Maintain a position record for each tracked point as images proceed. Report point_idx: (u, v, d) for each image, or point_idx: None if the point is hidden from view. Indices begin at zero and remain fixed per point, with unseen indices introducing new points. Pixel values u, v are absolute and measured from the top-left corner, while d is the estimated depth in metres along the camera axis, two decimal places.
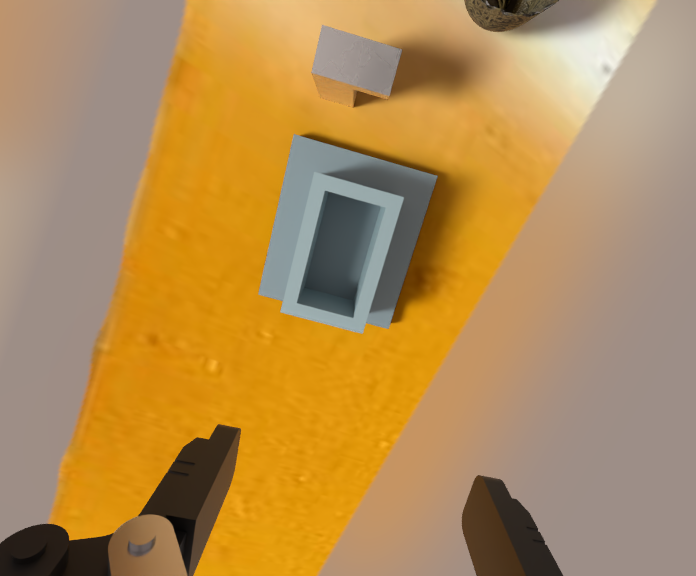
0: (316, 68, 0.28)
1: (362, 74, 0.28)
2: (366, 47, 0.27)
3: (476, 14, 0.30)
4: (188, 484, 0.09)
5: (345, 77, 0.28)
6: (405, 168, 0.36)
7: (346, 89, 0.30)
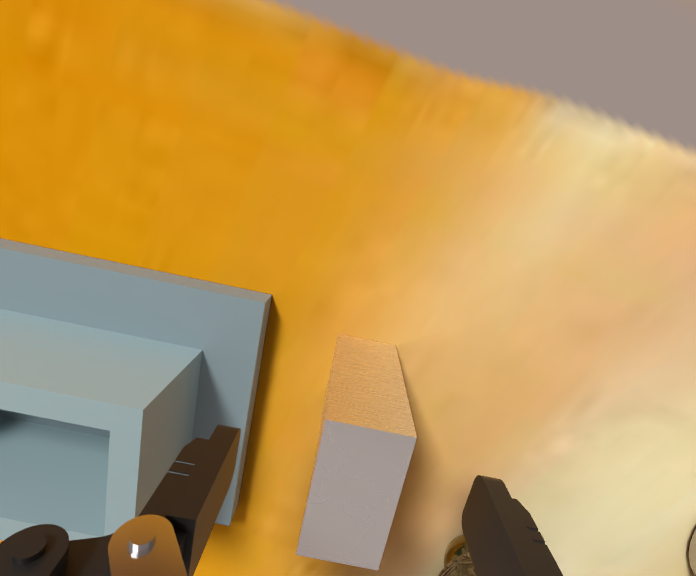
0: (334, 428, 0.13)
1: (330, 509, 0.14)
2: (378, 515, 0.14)
3: None
4: (188, 483, 0.09)
5: (322, 481, 0.14)
6: (233, 481, 0.21)
7: (317, 448, 0.15)
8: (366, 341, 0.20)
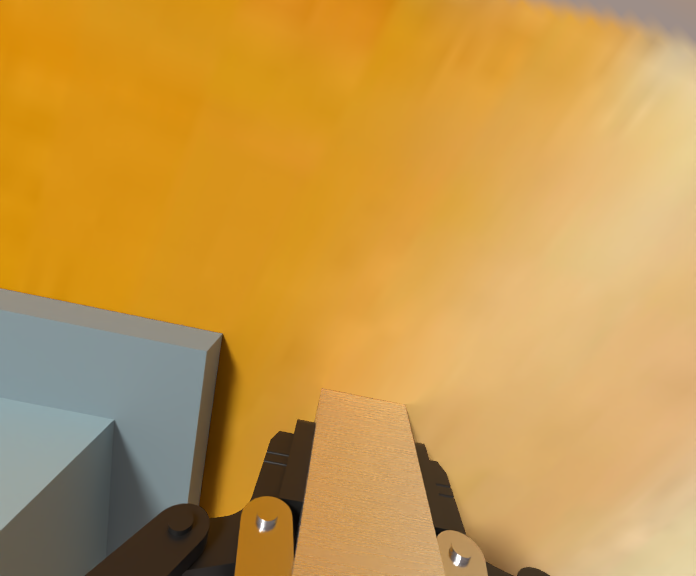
0: None
1: None
2: None
3: None
4: (289, 471, 0.11)
5: None
6: None
7: None
8: (362, 401, 0.14)
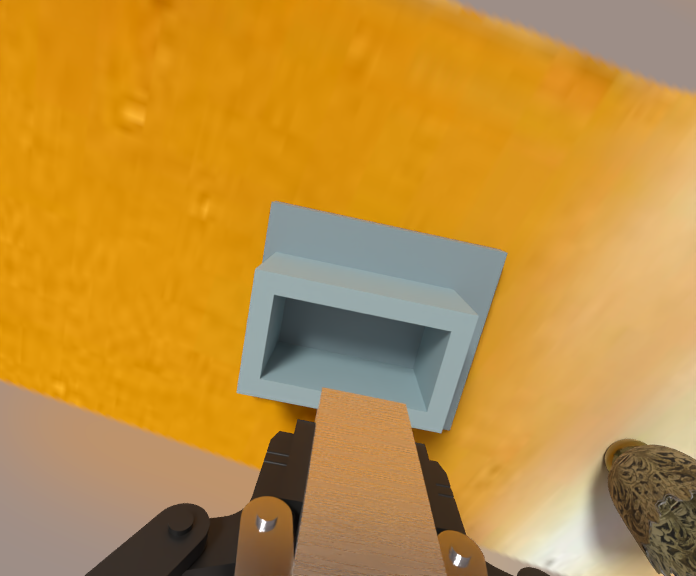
0: None
1: None
2: None
3: (638, 473, 0.26)
4: (289, 471, 0.11)
5: None
6: (459, 394, 0.28)
7: None
8: (363, 400, 0.14)
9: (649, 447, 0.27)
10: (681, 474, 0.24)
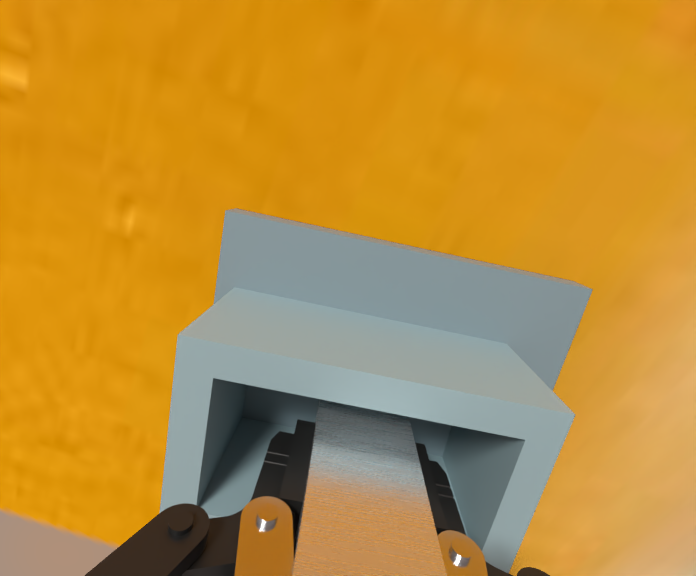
0: None
1: None
2: None
3: None
4: (289, 471, 0.11)
5: None
6: None
7: None
8: None
9: None
10: None
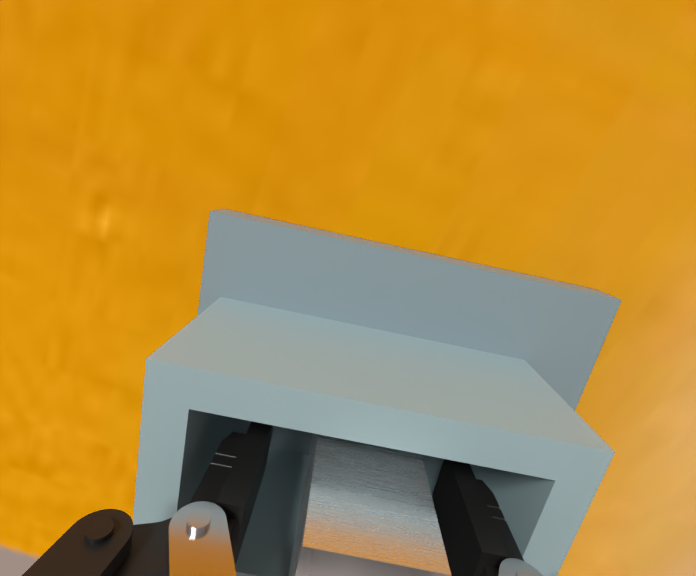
0: (317, 560, 0.08)
1: None
2: None
3: None
4: (233, 474, 0.10)
5: None
6: None
7: (292, 557, 0.10)
8: None
9: None
10: None
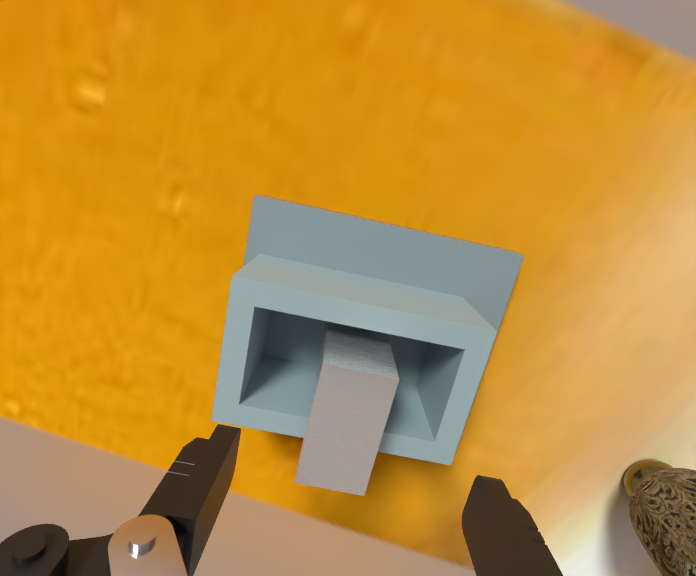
0: (330, 371, 0.15)
1: (324, 442, 0.16)
2: (365, 446, 0.16)
3: (667, 502, 0.23)
4: (188, 484, 0.09)
5: (318, 417, 0.16)
6: None
7: (313, 394, 0.18)
8: None
9: (677, 471, 0.25)
10: None
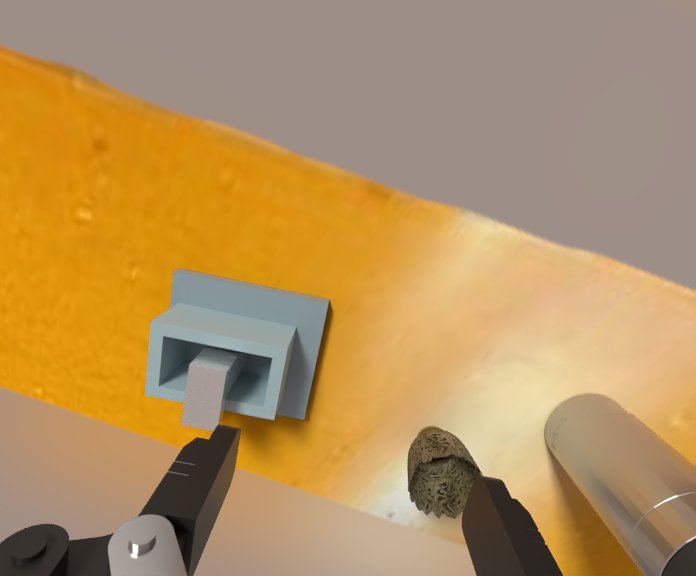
0: (193, 368, 0.32)
1: (194, 403, 0.33)
2: (214, 406, 0.33)
3: (416, 447, 0.40)
4: (188, 484, 0.09)
5: (189, 391, 0.33)
6: (307, 395, 0.42)
7: None
8: None
9: (431, 431, 0.41)
10: (433, 446, 0.38)
